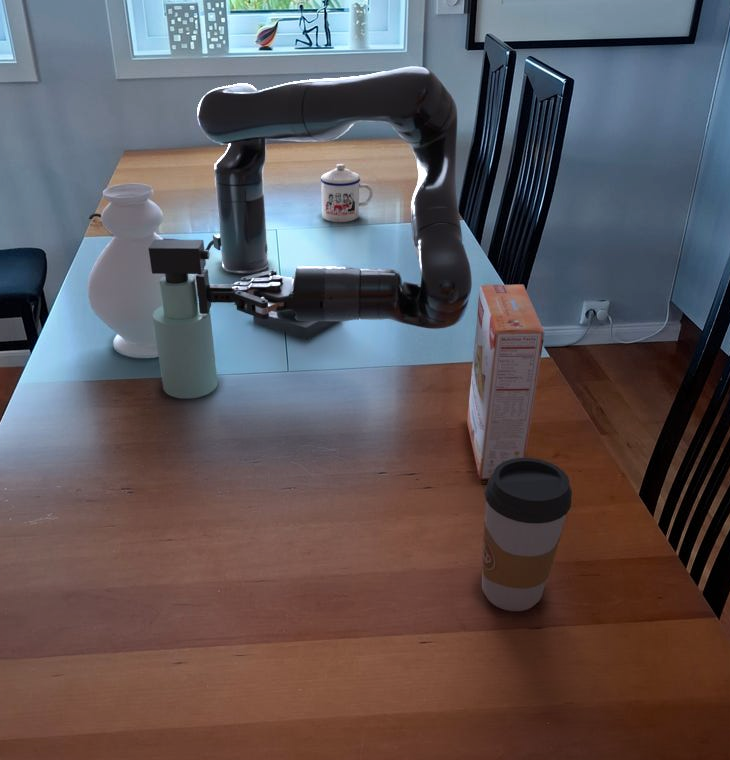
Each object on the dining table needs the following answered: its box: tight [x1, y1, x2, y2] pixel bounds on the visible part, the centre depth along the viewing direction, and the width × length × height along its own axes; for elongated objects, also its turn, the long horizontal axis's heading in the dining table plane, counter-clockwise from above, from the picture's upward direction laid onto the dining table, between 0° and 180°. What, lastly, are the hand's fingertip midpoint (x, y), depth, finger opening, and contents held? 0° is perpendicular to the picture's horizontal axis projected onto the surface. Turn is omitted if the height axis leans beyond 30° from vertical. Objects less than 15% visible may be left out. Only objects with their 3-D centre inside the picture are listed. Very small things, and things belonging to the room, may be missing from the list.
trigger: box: [195, 268, 212, 314], centre depth 116 cm, size 1×3×6 cm, turn 176°
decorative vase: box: [86, 182, 198, 359], centre depth 131 cm, size 18×18×25 cm
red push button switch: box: [252, 310, 339, 340], centre depth 143 cm, size 12×10×4 cm
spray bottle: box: [148, 239, 219, 400], centre depth 119 cm, size 9×8×22 cm
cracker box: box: [466, 284, 545, 480], centre depth 103 cm, size 14×6×21 cm, turn 178°
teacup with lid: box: [320, 163, 374, 223], centre depth 187 cm, size 12×9×12 cm
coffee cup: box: [481, 457, 573, 612], centre depth 83 cm, size 8×8×15 cm
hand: (208, 293), depth 116 cm, fingers closed
